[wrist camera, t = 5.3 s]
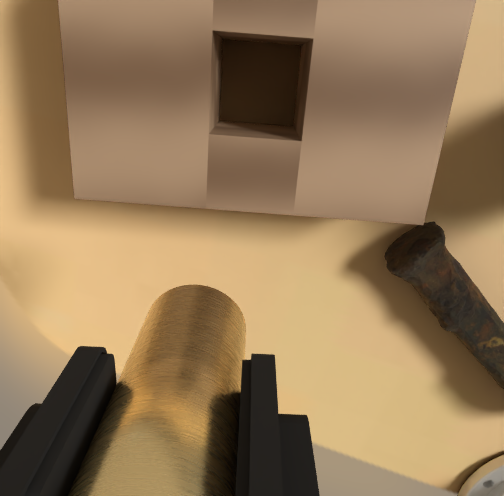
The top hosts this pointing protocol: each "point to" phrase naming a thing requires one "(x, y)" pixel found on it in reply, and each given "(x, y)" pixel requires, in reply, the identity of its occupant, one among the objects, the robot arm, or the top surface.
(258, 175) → the hole block
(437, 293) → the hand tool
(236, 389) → the peg
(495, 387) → the top surface
